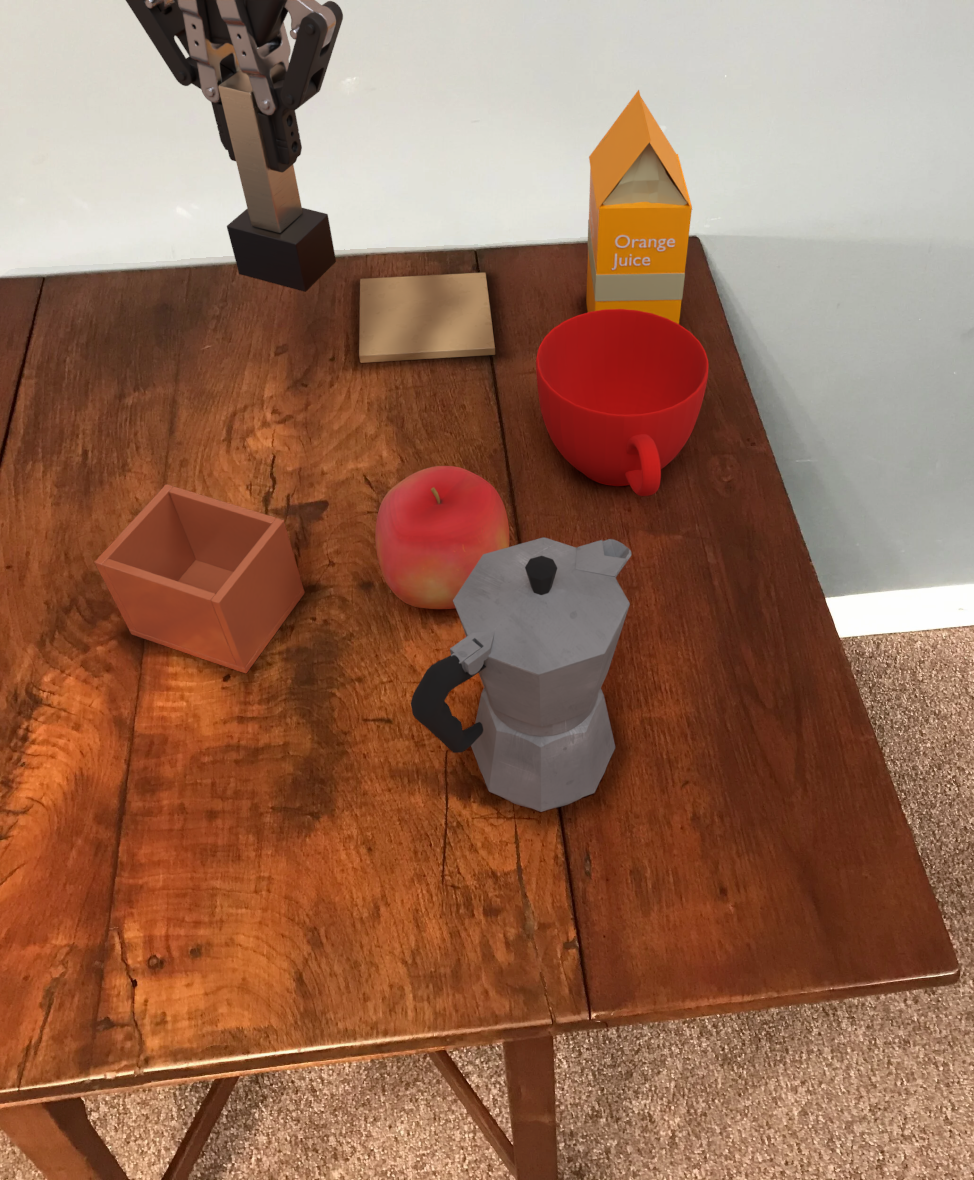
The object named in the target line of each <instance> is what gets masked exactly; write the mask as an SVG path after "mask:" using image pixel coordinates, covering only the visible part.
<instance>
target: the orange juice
mask: <svg viewBox="0 0 974 1180" xmlns="http://www.w3.org/2000/svg"><path fill="white" fill-rule="evenodd" d="M588 159H589V160H588V162H589V198H588V199H589V200H588V220H587V263H586V264H587V269H586V297H585V299H586V301H585V302H586V311H587V313H588V312H592V311H598V310H605V309H627V310H638V311H643V312H648V313H653V314H656V315H659V316H662V317H665V318H667V319H669V320H671V321H673V322H675V323H677V324H679V325H680V319H681V310H682V309H681V308H682V300H683V296H684V295H683V294H684V289H685V287H684V285H685V278H686V264H687V257H688V247H689V238H690V229H691V220H692V211H693V206H692V202H691V198H690V195H689V194H690V193H689V191H688V187H687V183H686V180H685V179H686V178H685V176H684V172H683V171H684V170H683V168H682V164H681V160H680V156H679V153H676V151H675V150H674V148H673V146H672V144H671V143H670V140H668V138H667V136H666V135H665V133H664V132H663V129H662V128H661V126H660V125H659V124H658V121H657V120H656V118H655V117H654V116H653V113H652V112H651V111H650V109H649V107H648V106H647V104H646V102H645V101H644V99H643V97H642V96H641V92H640V89H638V90H636V93H635V94H634V95H633V96H632V98H631V99H630V101H629V102H628V103H627V104H626V106H625V108H624V109H623V110H622V111H621V113H620V114H619V116H618V117H617V118H616V119H615V121H614V122H613V124H612V125H611V126H610V127H609V128H608V130H607V132H606V133H605V135H604V136H603V137H602V138H601V140H600V141H599V142H598V144H597V145H596V147H594V149H593V151H592V152H591V153H590V155H589V156H588Z"/></svg>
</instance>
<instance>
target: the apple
mask: <svg viewBox="0 0 974 1180" xmlns="http://www.w3.org/2000/svg"><path fill="white" fill-rule="evenodd" d="M508 518H509V517H508V514H507V510H506V507H505V504H504V501H503V499H502V497H501V496H500V494H499V492H498V491H497V489H496V488H495V487H494V486H493V485H492V484H491V483H490V482H488V480H486V479H484V477H482V476H480V475H478V474H476V473H474V472H472V471H470V470H468V469H466V468H463V467H459V466H452V465H436V466H431V467H430V466H429V467H427V468H424V469H420V470H418V471H415V472H414V473H411V474H410V475H408V476H406V477H405V478H403V479H402V480H401V481H399V482H397V483H396V484H395V485H394V486H392V488H391V489H389V490H388V491H387V493H386V494H385V496H384V497H383V499H382V500H381V503H380V505H379V508H378V512H377V514H376V520H375V521H376V522H375V530H374V531H375V532H374V533H375V535H374V536H375V550H376V556H377V560H378V565H379V568H380V571H381V574H382V576H383V578H384V581H385V582H386V584H387V586H388V588H389V589H390V590H391V592H392V593H393V594H394V595H395V596H396V597H397V598H398V599H399V600H401V601H402V602H403V603H405V604H407V605H409V606H412V607H415V608H420V609H428V610H454V609H456V608H455V605H454V603H453V600H454V598H455V597H456V595H457V594H458V592H459V591H460V589H461V587H462V586H463V584H464V583H465V581H466V580H467V578H468V577H469V575H470V574H471V572H472V571H473V569H474V568H475V566H476V565H477V563H478V561H479V560H480V558H481V557H482V555H483V554H486V553H490V552H493V551H497V550H500V549H504V548H508V547H510V525H509V519H508Z"/></svg>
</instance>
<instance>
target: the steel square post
mask: <svg viewBox="0 0 974 1180" xmlns="http://www.w3.org/2000/svg"><path fill="white" fill-rule="evenodd" d="M270 75H271V74H270ZM271 79H272V78H271ZM272 83H273V81H272ZM218 88H219V92H220V97H221V101H222V105H223V109H224V113H225V117H226V121H227V126H228V130H229V134H230V138H231V142H232V146H233V151H234V155H235V159H236V161H235V163H236V166H237V167H236V168H237V171H238V176H239V180H240V183H241V189H242V191H243V196H244V200H245V204H246V209H245V210H243V212H241V213H240V214H238V216H236V218H234V219H233V220H232V221H230V222H229V223H228V224H227V225H226V230H227V233H228V237H229V241H230V244H231V247H232V248H231V249H232V252H233V256H234V259H235V265H236V269H237V271H238V275H241V276H244V277H249V278H252V279H256V280H259V281H263V282H267V283H271V284H274V285H278V286H281V287H285V288H288V289H292V290H296V291H300V292H303V293H307V291H308V290H310V289H311V287H312V286H314V285H315V284H316V283H317V282H318V280H319V279H320V278H321V277H323V276H324V275H325V274H326V272H328V271H329V270H330V268H332V267H333V266H334V264H336V263H337V258H336V253H335V247H334V241H333V236H332V235H333V234H332V231H331V225H330V219H329V214H328V213H325V212H321V211H318V210H313V209H310V208H305V207H302V202H301V201H302V200H301V197H300V191H299V186H298V182H297V176H296V172H295V166H294V164H293V165H292V166H290V167H289V168H288V169H287V170H286V171H284V172H283V173H282V172H278V171H273V170H271V169H270V167H269V163H268V159H267V154H266V149H265V145H264V140H263V136H262V131H261V126H260V122H259V117H258V113H259V112H260V109H259V108H258V106H257V103H256V100H255V96H254V93H253V90H252V86H251V83H250V80H249V77H248V75H247V74H245V73H243V72H242V71H241V70H240V71H239V72H237V73H236V74H234V75H233V76H231V77H230V78H229V79H227V80H226V81H224V82H223V83H221V84H220V85H219V86H218Z"/></svg>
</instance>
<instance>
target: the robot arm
mask: <svg viewBox="0 0 974 1180" xmlns="http://www.w3.org/2000/svg"><path fill="white" fill-rule="evenodd" d="M125 2H126V3H127V5H128V6H129V8H130V10H131V11H132V13H133V14H134V16H135V18H136V19H137V20H138V22H139V23H140V25H141V27H142V28H143V30H144V32H145V33H146V35H147V37H148V38H149V39H150V41H151V43H152V44H153V46H154V47H155V49H156V50H157V52H158V53H159V54H160V57H161V58H162V60H163V61H164V63H165V64H166V66H167V67H168V69H169V70H170V72H171V74H172V75H173V77H174V79H175V80H176V82H178V83H179V84H180V85H181V86H184V87H189V86H191V85H193V86H195V87H196V88H198V89H200V90H201V93H202V94H203V96H204V98H205V99H206V100H208V101H209V102H210V103H211V107H212V112H213V115H214V119H215V123H216V128H217V131H218V136H219V140H220V143H221V145H222V146H223V148H224V150H226V151H227V153H228V157H229V159H230V160H231V161H233V162H236V159H235V155H234V151H233V146H232V142H231V138H230V134H229V130H228V126H227V121H226V117H225V113H224V109H223V105H222V101H221V97H220V92H219V88H218V86H219V85H220V84H221V83H223V82H224V81H226V80H227V79H229V78H230V77H231V76H233V75H234V74H236V73H237V72H239V71H240V70H241V71H242V72H243V73H245V74H247V75H248V77H249V80H250V83H251V86H252V90H253V93H254V96H255V100H256V103H257V106H258V108H259V109H260V112H259V113H258V117H259V122H260V126H261V131H262V136H263V140H264V145H265V149H266V154H267V159H268V163H269V167H270V169H271V170H273V171H278V172H282V173H283V172H284V171H286V170H287V169H288V168H289V167H290V166H292V165H294V164H295V163H296V162H297V159H298V158H299V157H300V156H301V155H302V150H303V146H302V141H301V136H300V135H301V134H300V129H299V125H298V119H297V113H296V110H298V109H299V108H300V107H302V106H303V105H304V104H306V103H307V102H308V101H309V100H311V99H312V98H314V96H317V94H318V93H319V92H321V89H322V86H323V83H324V80H325V76H326V73H327V70H328V68H329V64H330V61H331V57H332V56H333V55H332V54H333V51H334V48H335V44H336V42H337V40H338V39H337V38H338V36H339V33H340V29H341V26H342V24H343V23H342V22H343V20H344V13H343V10H342V8H341V7H340V5H339V4H338V3H337V2H335V1H334V0H328V1H325V2H324V3H323V4H320V2H318V1H317V0H125ZM288 13H289V16H290V30H289V35H290V37H291V39H293V40H294V41H295V42H294V45H293V48H292V50H291V45H290V41H289V38H288V37H289V36H288V33H287V30H286V25H285V20H286V18H287V16H288ZM175 37H176V38H177V39H178V40H179V42H180V44H181V45H182V47H183V49H184V50H185V52H186V53H187V55H188V56H187V57H186V56H185V55H184V53H183V51H182V49H181V48H180V46H179V44H178V43H177V41H176V38H175ZM270 74H271V75H270ZM271 78H272V79H271ZM272 81H273V83H272Z"/></svg>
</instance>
